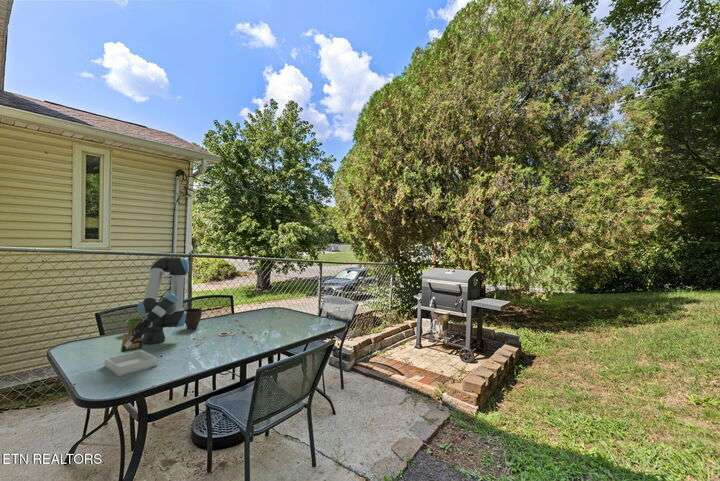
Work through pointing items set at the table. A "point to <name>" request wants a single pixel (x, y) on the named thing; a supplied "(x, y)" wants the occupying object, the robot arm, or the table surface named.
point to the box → (130, 362)
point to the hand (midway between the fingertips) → (124, 345)
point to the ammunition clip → (134, 345)
